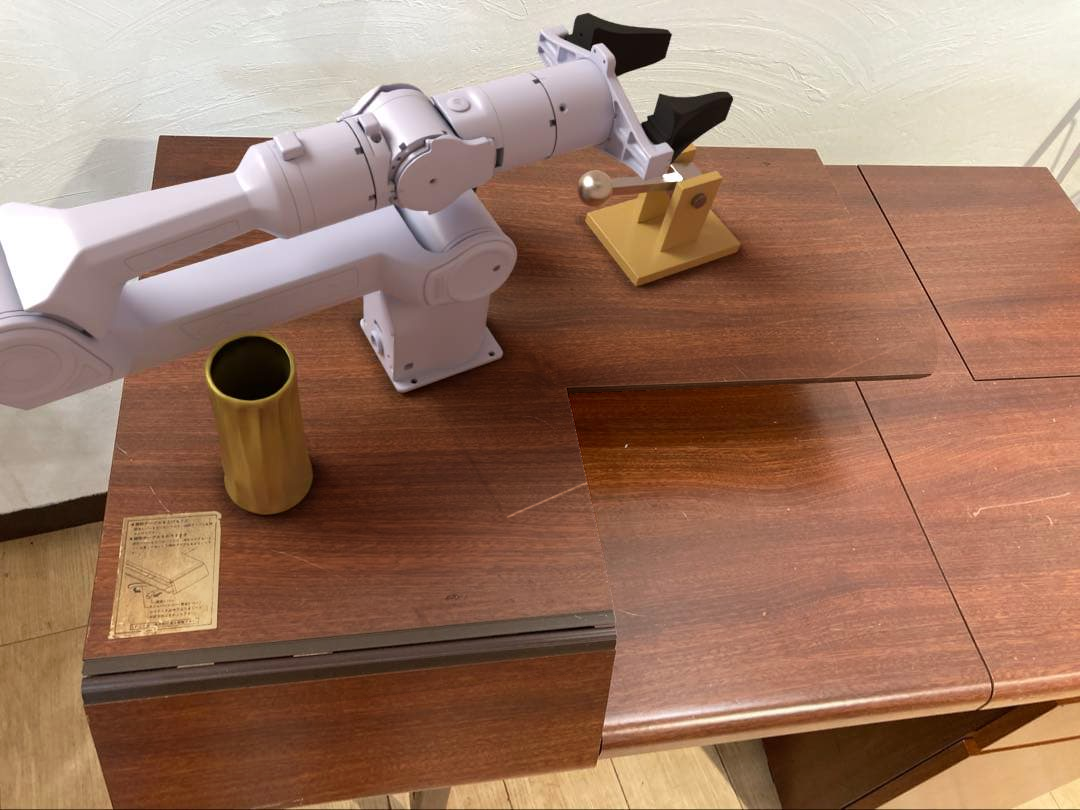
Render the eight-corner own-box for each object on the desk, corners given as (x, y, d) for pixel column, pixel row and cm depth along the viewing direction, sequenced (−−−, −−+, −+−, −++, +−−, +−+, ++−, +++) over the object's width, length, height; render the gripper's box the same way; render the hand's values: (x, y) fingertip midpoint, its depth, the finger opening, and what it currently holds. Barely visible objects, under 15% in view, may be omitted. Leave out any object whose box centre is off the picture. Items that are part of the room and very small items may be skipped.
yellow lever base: (635, 287, 81) (660, 215, 74) (584, 221, 85) (603, 147, 78) (737, 252, 86) (770, 182, 78) (684, 191, 90) (711, 119, 82)
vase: (291, 428, 67) (278, 311, 55) (327, 493, 64) (321, 387, 53) (211, 460, 64) (179, 345, 52) (245, 529, 62) (219, 426, 50)
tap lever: (583, 216, 74) (597, 187, 72) (565, 192, 75) (578, 163, 73) (694, 203, 81) (710, 177, 79) (676, 182, 82) (690, 155, 80)
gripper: (603, 137, 53) (775, 87, 58) (488, 0, 59) (653, -33, 64) (582, 222, 59) (741, 170, 64) (480, 90, 65) (632, 52, 70)
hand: (695, 74), depth 65 cm, fingers open, 7 cm apart
